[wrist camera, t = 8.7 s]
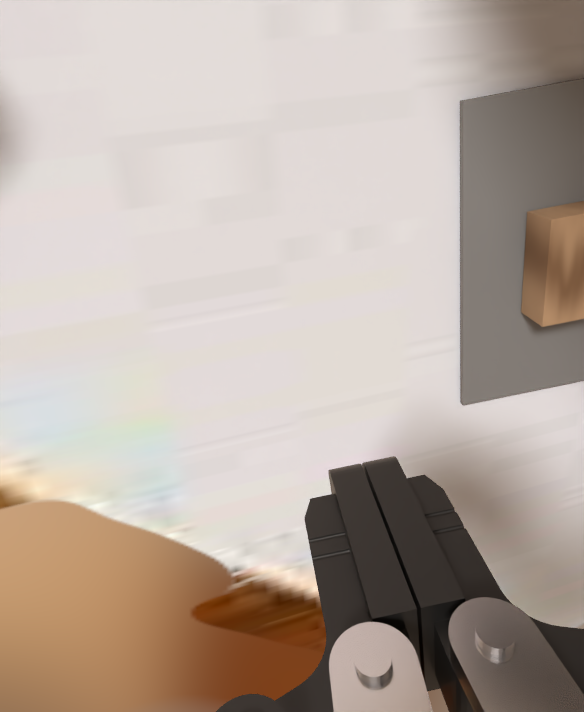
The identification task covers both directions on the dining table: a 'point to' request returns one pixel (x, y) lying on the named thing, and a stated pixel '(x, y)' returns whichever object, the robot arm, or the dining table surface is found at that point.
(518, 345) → the rubber mat
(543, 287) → the walnut sign block
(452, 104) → the dining table surface
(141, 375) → the dining table surface
